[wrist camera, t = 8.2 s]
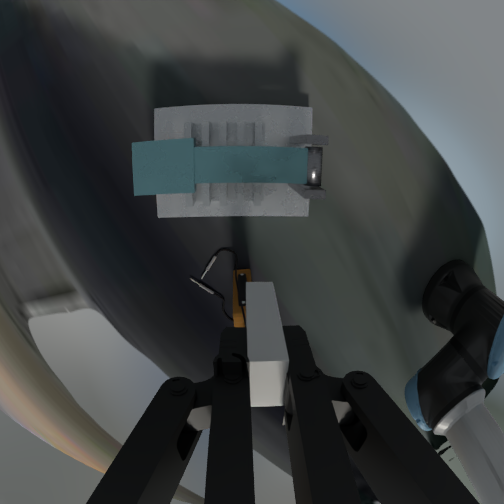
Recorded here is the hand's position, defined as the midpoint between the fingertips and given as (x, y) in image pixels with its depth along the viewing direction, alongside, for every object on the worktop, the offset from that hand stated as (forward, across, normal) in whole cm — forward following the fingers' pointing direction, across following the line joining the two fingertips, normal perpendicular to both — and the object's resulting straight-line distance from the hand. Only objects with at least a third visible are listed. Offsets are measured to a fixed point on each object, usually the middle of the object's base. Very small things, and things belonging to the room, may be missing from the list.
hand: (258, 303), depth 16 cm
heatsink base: (+28, +2, -7) cm, 29 cm away
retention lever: (+18, +3, -7) cm, 20 cm away
